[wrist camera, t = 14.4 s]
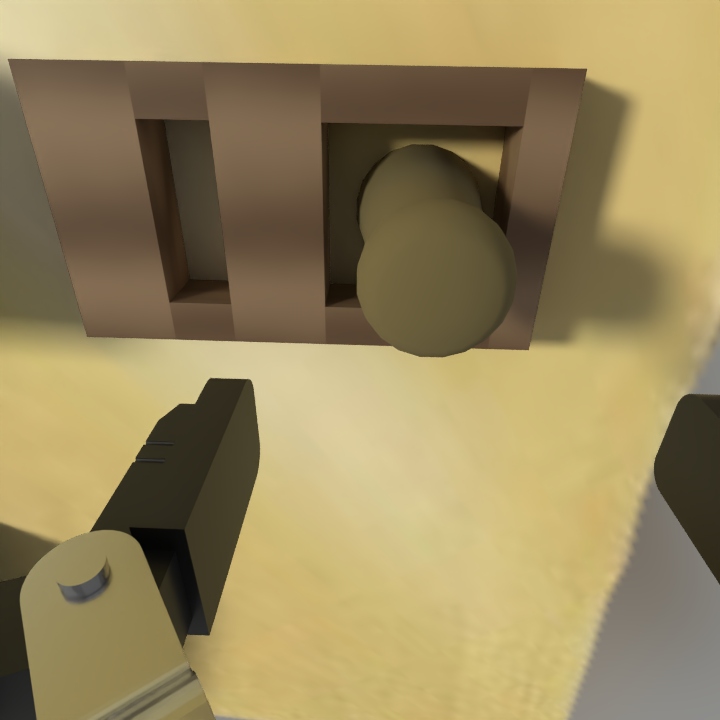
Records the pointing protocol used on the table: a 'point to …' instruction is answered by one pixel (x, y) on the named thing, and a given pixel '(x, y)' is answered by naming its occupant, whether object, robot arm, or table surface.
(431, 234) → the cork
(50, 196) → the brown slatted wooden frame
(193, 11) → the table surface
